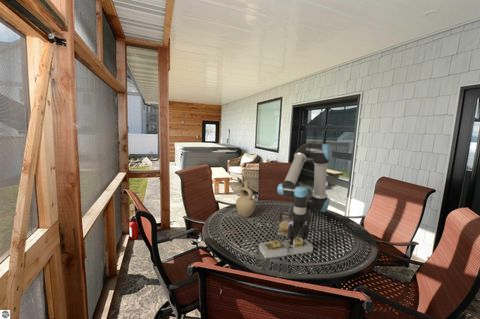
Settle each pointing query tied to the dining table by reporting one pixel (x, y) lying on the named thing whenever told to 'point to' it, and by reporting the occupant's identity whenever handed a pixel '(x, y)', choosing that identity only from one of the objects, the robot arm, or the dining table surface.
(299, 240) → the gold knobbed block
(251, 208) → the vase
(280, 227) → the coffee box
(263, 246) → the grey slotted tray
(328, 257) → the dining table surface
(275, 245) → the drawer with knob
